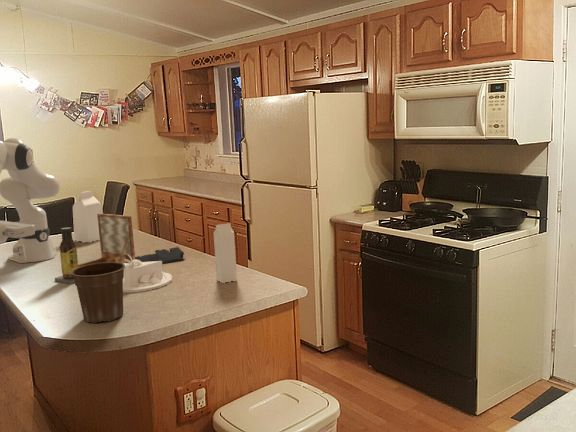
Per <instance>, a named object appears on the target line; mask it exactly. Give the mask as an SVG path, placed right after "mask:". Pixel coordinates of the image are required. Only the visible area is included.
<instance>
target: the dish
mask: <svg viewBox="0 0 576 432" xmlns="http://www.w3.org/2000/svg"><path fill="white" fill-rule="evenodd" d="M127 255H128V256H129V258H130V259H131V261H130V260H128V259H125V261H126V262H129V263H123V264H124V265H125V268H124V278H123V294H125V293H139V292H141V291H142V292H148V291H147V290H149V291H152V289H153V290H156V288H157V289H160V288H163V287H166V286H168V285H169V284H171V283H172V282H173V279H172V278H173V275H172V274H170V273H169V272H164V271H163V264H162V261H152V262H141V261H140V260H137V259H135V260H132V258H131V256H130V255H129V254H127ZM171 281H172V282H171ZM170 282H171V283H170ZM165 285H166V286H165ZM162 286H163V287H162Z"/></svg>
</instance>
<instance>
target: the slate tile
mask: <svg viewBox="0 0 576 432" xmlns="http://www.w3.org/2000/svg"><path fill="white" fill-rule="evenodd" d="M54 282H58V283H64V284H69V285H72V284H75V282H74V278H63V275H60V276H57V277H54Z"/></svg>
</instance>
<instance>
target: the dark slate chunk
mask: <svg viewBox="0 0 576 432" xmlns="http://www.w3.org/2000/svg"><path fill="white" fill-rule="evenodd" d="M154 252H155V253H153V254H152V253H148V254H144V255H137V256H135V259H137V260H140V261H141V262H152V261H162V265H166V264H167V265H168V264H172V263H179V262H184V261H185V260H186V259H185V258H184V254H185V253H184V251H183V250H182V249H180V247H178V246H176V247H171V248H169V250H168V249H164V248H163V249H156V250H154Z"/></svg>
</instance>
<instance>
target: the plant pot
mask: <svg viewBox="0 0 576 432" xmlns="http://www.w3.org/2000/svg"><path fill="white" fill-rule="evenodd" d="M124 268H125V265H124V264H122V263H117V262H104V263H95V264H89V265H85V266H81V267H78V268H76V269H74V270H73V271H71V275H72V276H73V278H74V282H75V283H74V285H75V286H76V290H77V294H78V299H79V304H80V308H81V312H82V316H83V317H82V318H83V320H84V322H86V321H87V322H86V323H89V322H91V323H90V324H98V323H97V322H100V323H101V322H105V321H108V322H110V321H109V320H112V321H114V320H113V319H115V320H117V319H116V318H118V317H119V318H121V317H122V316H123V315H124V293H123V278H124ZM120 316H121V317H120ZM119 318H118V319H119Z"/></svg>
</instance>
